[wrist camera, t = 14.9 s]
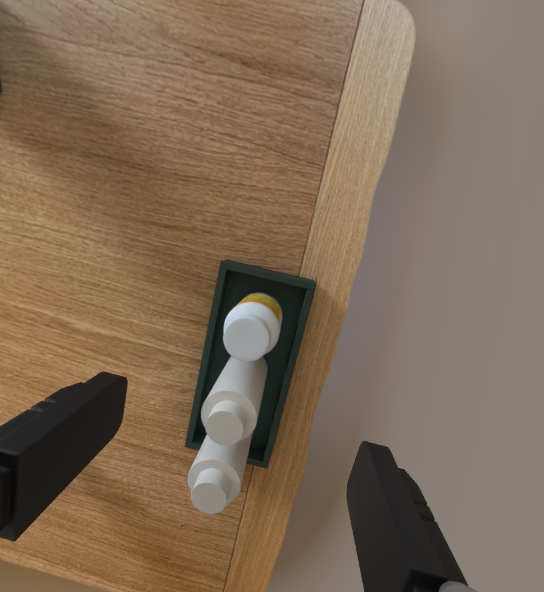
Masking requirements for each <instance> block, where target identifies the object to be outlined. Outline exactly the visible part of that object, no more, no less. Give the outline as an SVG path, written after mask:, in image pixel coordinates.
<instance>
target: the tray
mask: <svg viewBox="0 0 544 592" xmlns="http://www.w3.org/2000/svg"><path fill="white" fill-rule="evenodd" d="M315 287H316V283H315V281H314V280H310V279H306V278H302V277H298V276H294V275H289V274H285V273H281V272H277V271H273V270H269V269H264V268H260V267H256V266H252V265H248V264H243V263H239V262H235V261H231V260H224V261H221V263H220V269H219V273H218V279H217V284H216V289H215V294H214V299H213V304H212V309H211V315H210V320H209V325H208V330H207V335H206V340H205V345H204V351H203V356H202V361H201V366H200V371H199V376H198V381H197V386H196V392H195V397H194V402H193V407H192V412H191V417H190V422H189V428H188V433H187V438H186V443H185V447H188V448H191V449H195V450H200V448H201V446H202V444H203V441H204V439H205V437H206V435H207V433H206V428H205V427H204V425H203V422H202V418H201V410H202V406H203V404H204V402H205V400H206V398H207V397H208V395H209V393H210V391H211V390H212V388H213V386H214V384H215V383H216V381H217V379H218V378H219V376H220V374H221V372H222V371H223V369H224V367H225V365H226V364H227V362H228V360H229V358H230V357H231V355H230V354H229V353H228V351H227V350H226V348H225V345H224V341H223V336H224V323H225V319H226V317H227V315H228V314H229V312H230V311H231V310H232V309H233V308H234V307H235V306H236V305H237V304H238V303H239V302H240V301H241V300H242V299H244V298H245V297H246V296H248V295H249V294H252V293H256V292H262V293H266V294H269V295H271V296H272V297H273V298H275V299H276V300H277V302H278V303H279V304H280V306H281V309H282V323H281V329H280V334H279V338H278V341H277V343H276V345H275V346H274V348H273V349H272V350H271V351H269V352H268V353H266V354H265V355H263V357H264V358H265V360H266V363H267V367H268V371H267V376H266V381H265V386H264V391H263V395H262V400H261V405H260V410H259V414H258V419H257V424H256V427H255V429H254V431H253V434H252V439H251V443H250V448H249V452H248V457H247V461H246V463H248V464H252V465H256V466H259V467H263V468H268V464H269V461H270V457H271V453H272V449H273V445H274V442H275V438H276V434H277V430H278V427H279V423H280V419H281V415H282V411H283V408H284V404H285V400H286V396H287V393H288V389H289V385H290V381H291V377H292V374H293V370H294V366H295V362H296V358H297V355H298V351H299V347H300V343H301V340H302V336H303V332H304V328H305V324H306V321H307V317H308V313H309V309H310V306H311V302H312V298H313V294H314V290H315Z"/></svg>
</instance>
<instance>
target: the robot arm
mask: <svg viewBox="0 0 544 592" xmlns="http://www.w3.org/2000/svg"><path fill="white" fill-rule="evenodd" d="M127 384H128V381H127V378H126V377H123V376H119V375H115V374H112V373H108V372H101V373H99V374H97V375H96V376H94V377H93V378H91V379H90V380H88V381H87V382H85V383H82V382H80V383H77V384H74V385H71V386H68V387H65V388H62V389H60V390H59V391H57V392H55V393H54V394H52V395H50V396H49V397H47V398H46V399H45V400H44V401H41V402H39V403H37V404H36V405H34V406H33V407H31V409H30V410H26V411H24V412H23V413H21V414H20V415H18V416H16V417H15V418H13V419H12V420H10V421H8V422H7V423H5V424H3V425H2V426H0V537H1V538H4V539H8V540H11V541H14V542H15V541H16V540H17V539H18V538H19V537H20V535H21V534H22V533H23V532H24V531H25V530H26V529H27V528H28V527H29V526H30V525H31V524H32V523H33V522H34V521H35V520H36V519H37V517H38V516H39V515H40V514H41V513H42V512H43V511H44V510H45V509H46V508H47V507H48V506H49V505H50V504H51V503H52V502H53V501H54V500H55V498H56V497H57V496H58V495H59V494H60V493H61V492H62V491H63V490H64V489H65V488H66V487H67V486H68V485H69V484H70V483H71V482H72V481H73V479H74V478H75V477H76V476H77V475H78V474H79V473H80V472H81V471H82V470H83V469H84V468H85V467H86V466H87V465H88V464H89V463H90V461H91V460H92V459H93V458H94V457H95V456H96V455H97V454H98V453H99V452H100V451H101V450H102V449H103V448H104V447H105V446H106V445H107V444H108V442H109V441H110V440H111V439H112V438H113V437H114V436H115V434H116V433H117V431H118V429H119V427H120V425H121V423H122V419H123V414H124V407H125V399H126V392H127ZM347 504H348V510H349V515H350V520H351V525H352V530H353V535H354V541H355V546H356V551H357V555H358V561H359V566H360V571H361V577H362V582H363V586H364V592H477V591H475V590H474V589H472V588H470V587H469V586H468V584H467V582H466V580H465V578H464V576H463V574H462V572H461V570H460V568H459V566H458V564H457V563H456V560H455V558H454V556H453V554H452V552H451V550H450V548H449V546H448V544H447V542H446V540H445V538H444V537H443V534H442V532H441V530H440V528H439V526H438V524H437V522H435V521H434V516H433V514H432V512H431V510H430V508H429V507H428V506H427V502H426V500H425V498H424V496H423V494H422V492H421V490H420V488H419V486H418V485H417V484H416V483H415V481H414V480H413V479H412V478H411V477H410V476H409V474H408V473H407V472H406V471H405V470H404V469H401V468H398V467H397V464H396V462H395V460H394V458H393V455H392V453H391V451H390V449H389V448H388V447H385V446H382V445H378V444H374V443H370V442H367V441H363V442H362V443H361V445H360V447H359V450H358V453H357V456H356V459H355V462H354V465H353V468H352V471H351V474H350V477H349V480H348V484H347Z"/></svg>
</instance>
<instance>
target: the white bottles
mask: <svg viewBox="0 0 544 592" xmlns="http://www.w3.org/2000/svg"><path fill="white" fill-rule="evenodd" d="M267 371H268V367H267V363H266V360H265V358H264V357H263V356H262V357H261V358H259V359H257V360H255V361H250V362H245V361H240V360H237V359H235V358H234V357H232V356H231V357H230V358H229V360H228V362H227V364H226V365H225V367H224V369H223V371H222V372H221V374H220V376H219V378H218V379H217V381H216V383H215V384H214V386H213V388H212V390H211V391H210V393H209V395H208V397H207V398H206V400H205V402H204V404H203V406H202V410H201V418H202V422H203V425H204V427H205V428H206V433H207V435H206V437H205V439H204V441H203V444H202V446H201V448H200V450H199V452H198V454H197V457H196V459H195V461H194V463H193V465H192V467H191V469H190V472H189V474H188V486H189V489H190V491H191V500H192V503H193V505H194V506H195V507H196V508H197V509H198V510H199V511H201V512H203V513H206V514H216V513H218V512H220V511H222V510H223V509H224V508H225V506H226V504H229V503H230V502H232V501H233V500H234V499H235V498H236V497H237V496H238V494H239V492H240V488H241V484H242V479H243V475H244V470H245V466H246V461H247V457H248V452H249V448H250V443H251V439H252V434H253V431H254V429H255V427H256V424H257V419H258V414H259V410H260V405H261V400H262V395H263V391H264V386H265V381H266V376H267Z"/></svg>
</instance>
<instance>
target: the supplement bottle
mask: <svg viewBox="0 0 544 592" xmlns="http://www.w3.org/2000/svg"><path fill="white" fill-rule="evenodd" d="M281 323H282V309H281V306H280V304H279V303H278V302H277V300H276V299H275V298H273V297H272V296H271V295H269V294H266V293H262V292H256V293H252V294H249V295H248V296H246V297H245V298H244V299H242V300H241V301H240V302H239V303H238V304H237V305H236V306H235V307H234V308H233V309H232V310H231V311H230V312H229V314H228V315H227V317H226V319H225V323H224V336H223V341H224V345H225V348H226V350H227V351H228V353H229V354H230V355H231V356H232V357H234V358H235V359H237V360H240V361H245V362H250V361H255V360H257V359H259V358H261V357H262V356H263V355H265V354H266V353H268V352H269V351H271V350H272V349H273V348H274V346H275V345H276V343H277V341H278V338H279V334H280V329H281Z"/></svg>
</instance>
